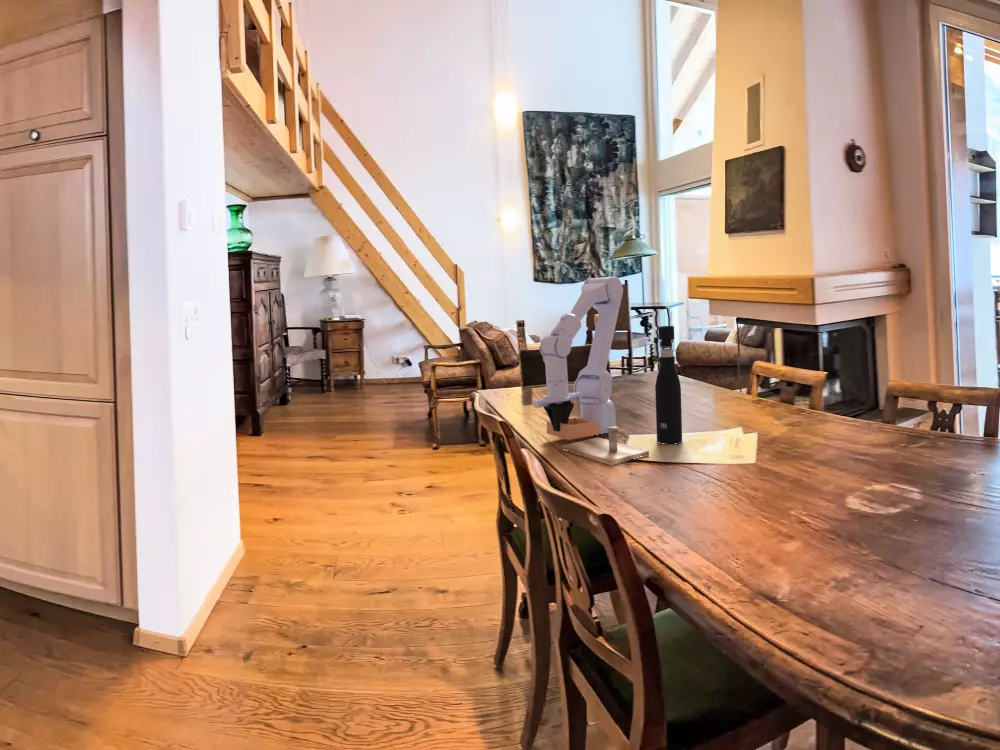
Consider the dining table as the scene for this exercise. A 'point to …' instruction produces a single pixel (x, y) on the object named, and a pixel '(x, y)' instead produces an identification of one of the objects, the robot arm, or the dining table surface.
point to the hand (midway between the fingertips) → (560, 430)
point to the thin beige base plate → (606, 449)
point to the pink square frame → (575, 428)
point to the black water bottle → (668, 392)
